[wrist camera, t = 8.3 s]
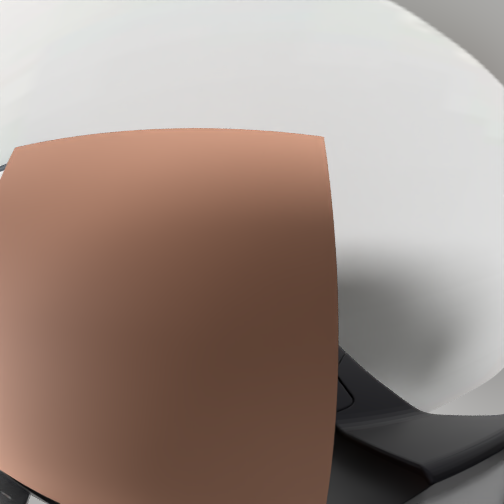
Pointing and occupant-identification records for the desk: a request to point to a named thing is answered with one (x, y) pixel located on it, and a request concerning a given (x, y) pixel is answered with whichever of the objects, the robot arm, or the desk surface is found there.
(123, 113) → the desk surface
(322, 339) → the wooden block
